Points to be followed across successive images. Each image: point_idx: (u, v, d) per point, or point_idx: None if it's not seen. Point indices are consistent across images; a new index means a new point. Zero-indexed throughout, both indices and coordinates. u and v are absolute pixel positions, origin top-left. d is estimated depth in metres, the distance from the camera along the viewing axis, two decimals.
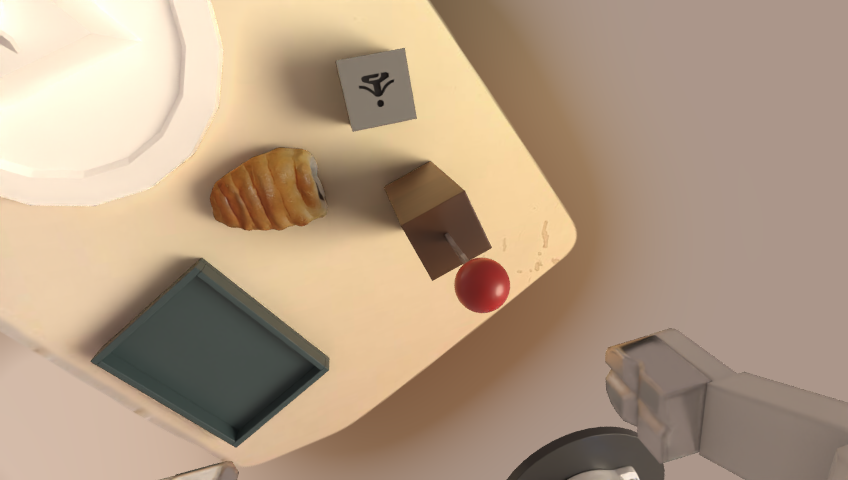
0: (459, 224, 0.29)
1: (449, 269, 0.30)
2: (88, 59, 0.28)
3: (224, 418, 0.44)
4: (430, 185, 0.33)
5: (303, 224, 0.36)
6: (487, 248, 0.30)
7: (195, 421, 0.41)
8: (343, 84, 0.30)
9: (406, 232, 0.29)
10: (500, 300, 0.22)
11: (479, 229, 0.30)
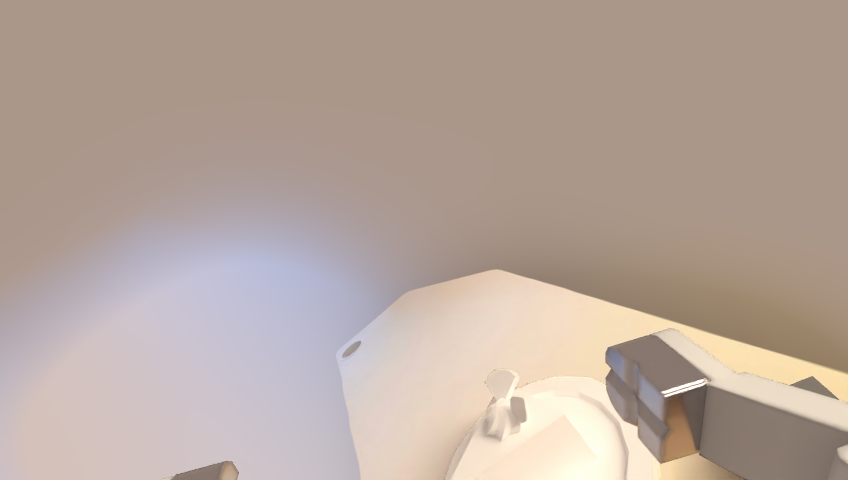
0: None
1: None
2: (563, 464, 0.41)
3: None
4: None
5: None
6: None
7: None
8: None
9: None
10: None
11: None
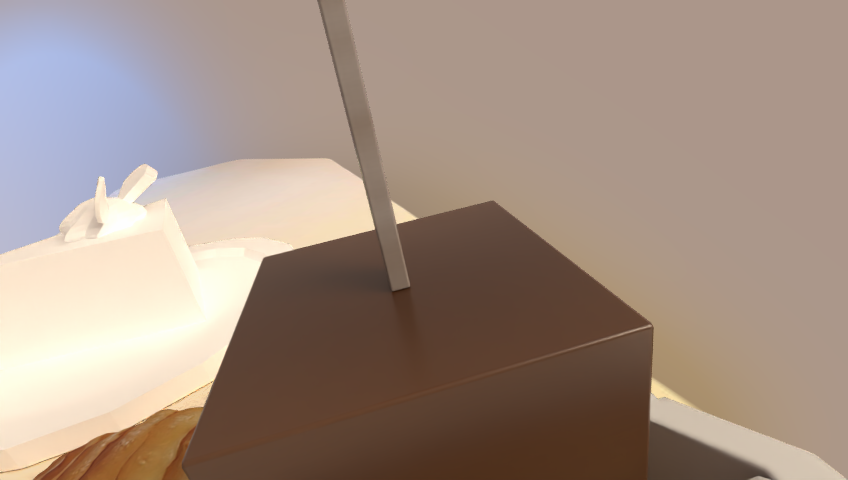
0: (458, 251, 0.07)
1: (334, 407, 0.04)
2: (146, 305, 0.27)
3: None
4: None
5: None
6: (619, 324, 0.05)
7: None
8: None
9: (262, 268, 0.08)
10: None
11: (553, 259, 0.06)
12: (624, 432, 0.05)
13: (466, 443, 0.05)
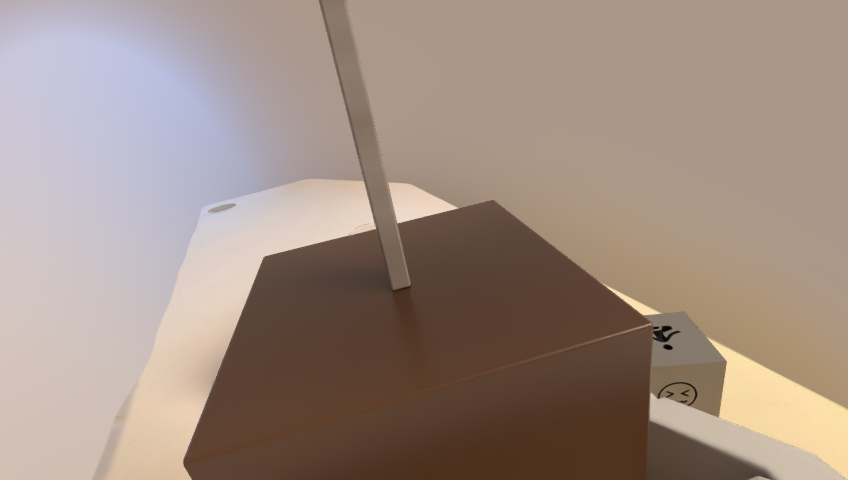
0: (458, 250, 0.07)
1: (335, 405, 0.04)
2: None
3: None
4: None
5: None
6: (619, 322, 0.05)
7: None
8: None
9: (263, 268, 0.08)
10: None
11: (554, 258, 0.06)
12: (624, 430, 0.05)
13: (466, 441, 0.05)
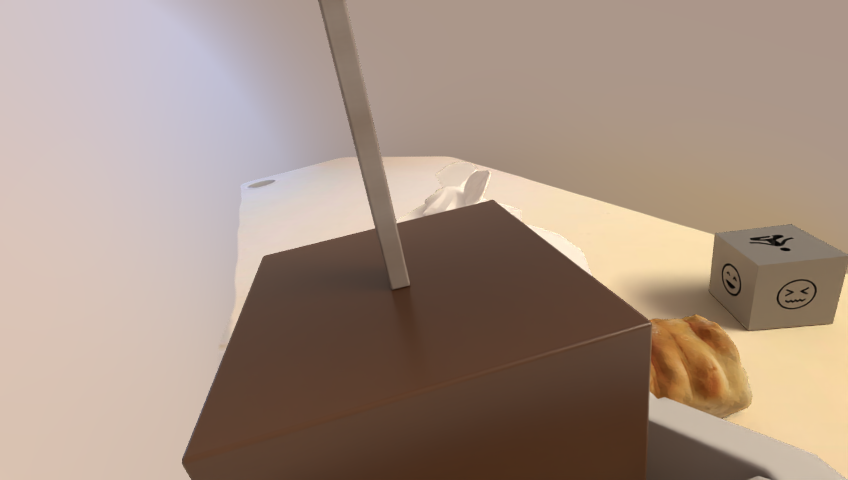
0: (458, 249, 0.07)
1: (334, 404, 0.04)
2: None
3: None
4: None
5: (713, 383, 0.21)
6: (618, 322, 0.05)
7: None
8: (729, 242, 0.29)
9: (262, 267, 0.08)
10: None
11: (553, 258, 0.06)
12: (623, 430, 0.05)
13: (465, 440, 0.05)
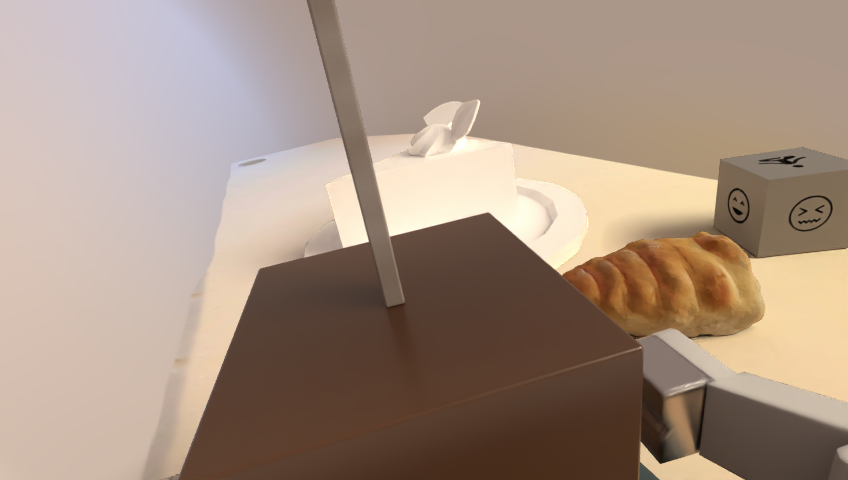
0: (453, 265, 0.07)
1: (327, 429, 0.04)
2: (482, 207, 0.34)
3: None
4: None
5: (722, 291, 0.19)
6: (610, 345, 0.05)
7: None
8: (736, 164, 0.27)
9: (258, 281, 0.08)
10: None
11: (547, 276, 0.06)
12: (615, 451, 0.05)
13: (458, 463, 0.05)
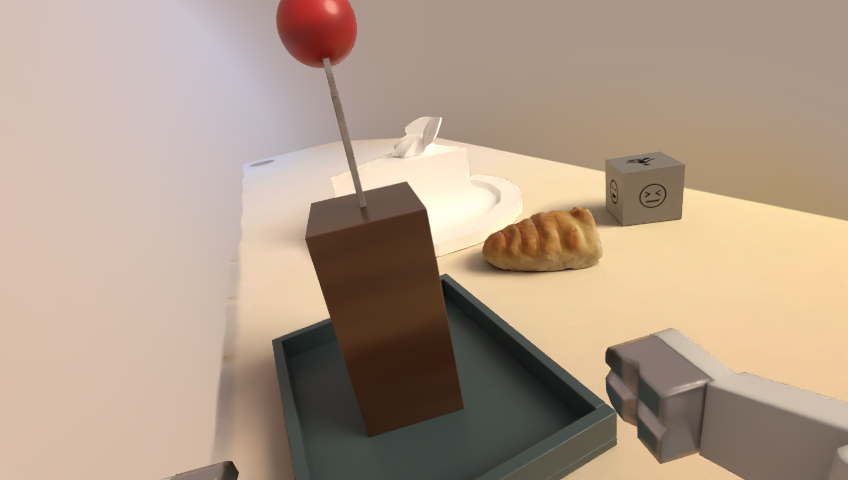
0: (385, 197, 0.19)
1: (342, 227, 0.17)
2: (445, 195, 0.47)
3: None
4: None
5: (574, 239, 0.32)
6: (418, 209, 0.17)
7: (298, 463, 0.18)
8: (612, 163, 0.39)
9: (312, 206, 0.20)
10: None
11: (413, 197, 0.19)
12: (424, 243, 0.17)
13: (377, 240, 0.17)
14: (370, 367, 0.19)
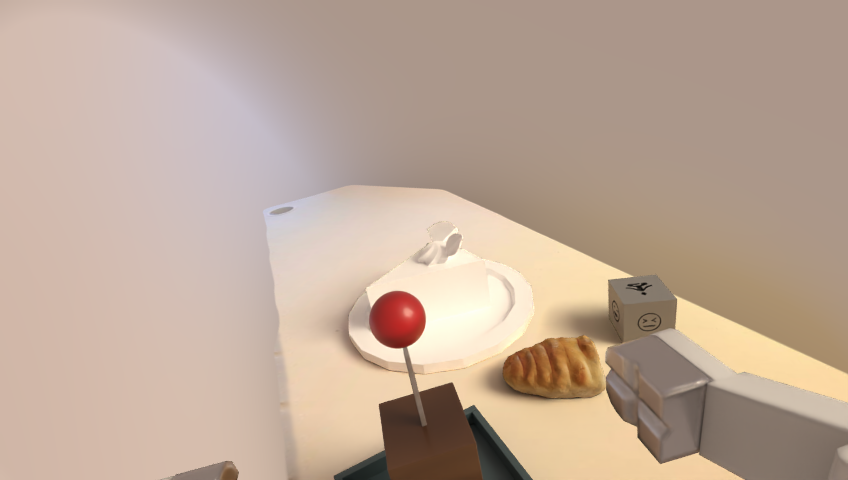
0: (439, 410, 0.25)
1: (414, 459, 0.23)
2: (466, 298, 0.52)
3: None
4: None
5: (581, 376, 0.37)
6: (469, 442, 0.23)
7: None
8: (614, 287, 0.45)
9: (381, 410, 0.26)
10: (400, 300, 0.21)
11: (462, 418, 0.24)
12: (473, 463, 0.23)
13: (439, 466, 0.23)
14: None
